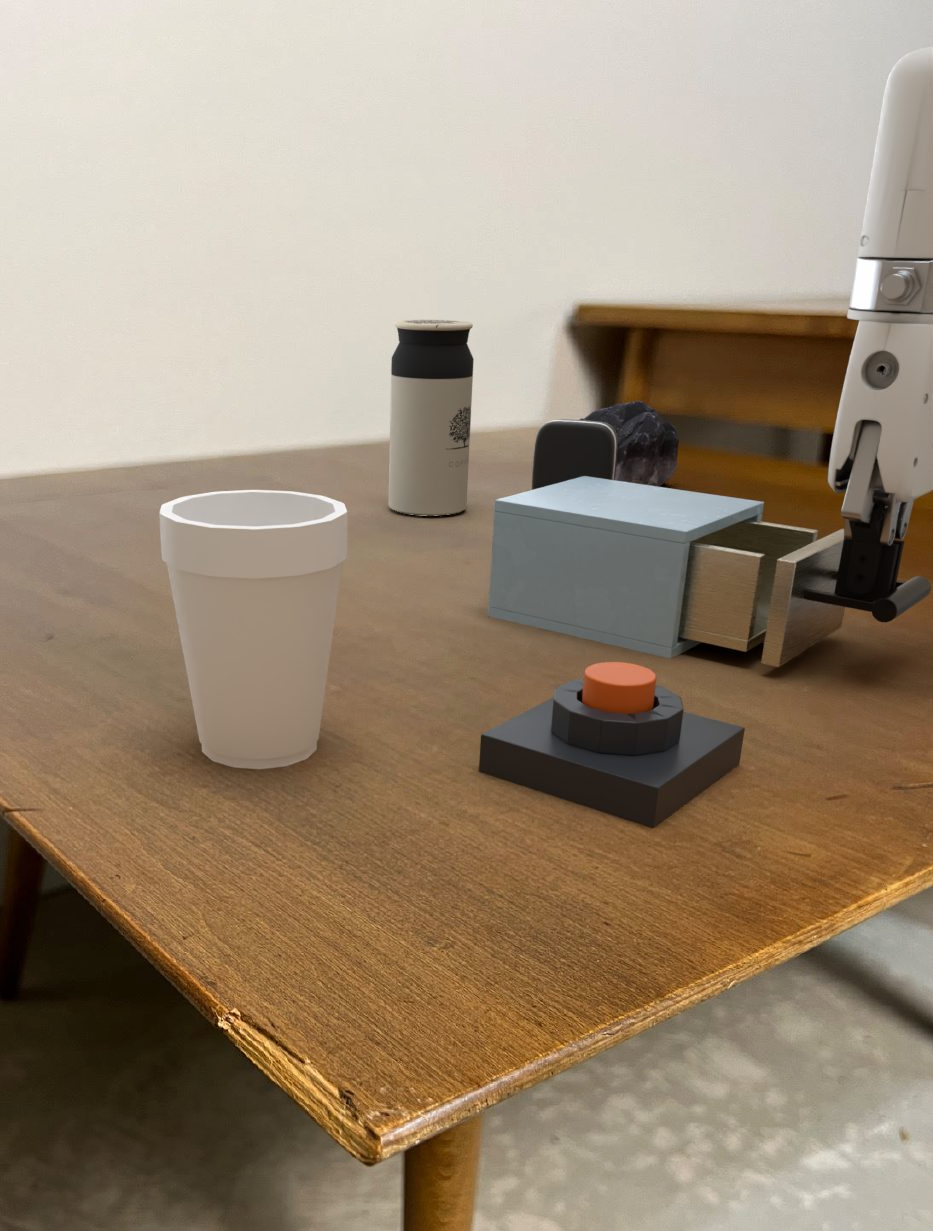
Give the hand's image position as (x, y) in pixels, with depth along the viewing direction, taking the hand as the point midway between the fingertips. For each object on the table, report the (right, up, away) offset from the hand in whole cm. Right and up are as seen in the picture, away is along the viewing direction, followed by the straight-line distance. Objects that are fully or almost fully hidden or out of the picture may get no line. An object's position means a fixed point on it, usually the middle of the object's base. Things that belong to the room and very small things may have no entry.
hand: (862, 600), depth 77 cm
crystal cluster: (-3, +22, +60) cm, 64 cm away
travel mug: (-25, +16, +46) cm, 54 cm away
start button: (-19, -7, -15) cm, 25 cm away
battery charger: (-14, +8, +30) cm, 34 cm away
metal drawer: (-5, -2, +5) cm, 7 cm away
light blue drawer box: (-13, 0, +12) cm, 18 cm away
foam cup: (-38, -10, -11) cm, 41 cm away
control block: (-19, -11, -14) cm, 26 cm away
